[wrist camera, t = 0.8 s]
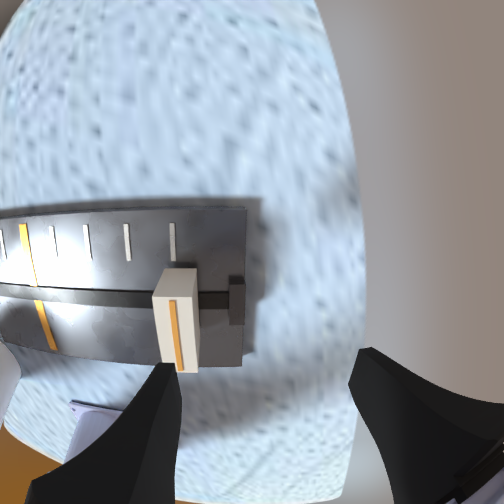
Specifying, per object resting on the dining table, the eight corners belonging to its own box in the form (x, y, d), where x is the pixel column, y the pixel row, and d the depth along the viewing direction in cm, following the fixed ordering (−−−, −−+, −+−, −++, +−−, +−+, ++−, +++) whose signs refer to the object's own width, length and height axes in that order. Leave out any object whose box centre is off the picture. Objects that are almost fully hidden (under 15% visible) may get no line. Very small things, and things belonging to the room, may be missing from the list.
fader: (200, 335, 18) (198, 373, 14) (171, 335, 18) (164, 372, 14) (196, 268, 16) (191, 298, 13) (164, 268, 16) (151, 297, 12)
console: (240, 356, 21) (242, 373, 19) (10, 335, 18) (1, 345, 16) (244, 206, 17) (248, 212, 16) (-20, 219, 14) (-33, 225, 12)
